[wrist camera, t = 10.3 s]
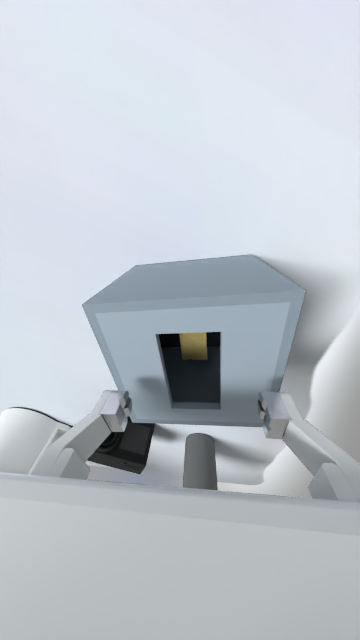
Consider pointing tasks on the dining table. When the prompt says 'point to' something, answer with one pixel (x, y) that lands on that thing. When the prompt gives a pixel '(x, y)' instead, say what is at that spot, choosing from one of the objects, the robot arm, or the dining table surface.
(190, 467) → the bottle
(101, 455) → the digital camera
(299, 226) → the dining table surface
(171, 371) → the box
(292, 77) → the dining table surface
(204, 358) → the block
